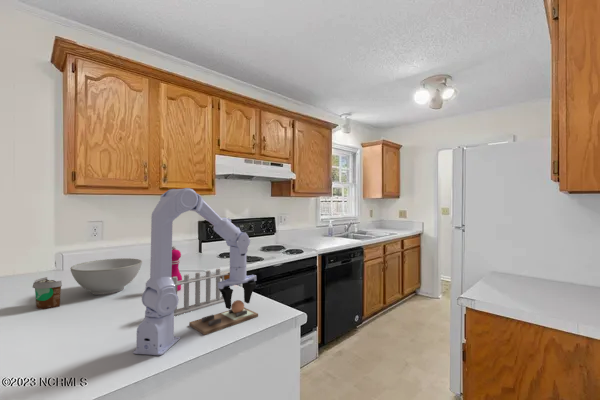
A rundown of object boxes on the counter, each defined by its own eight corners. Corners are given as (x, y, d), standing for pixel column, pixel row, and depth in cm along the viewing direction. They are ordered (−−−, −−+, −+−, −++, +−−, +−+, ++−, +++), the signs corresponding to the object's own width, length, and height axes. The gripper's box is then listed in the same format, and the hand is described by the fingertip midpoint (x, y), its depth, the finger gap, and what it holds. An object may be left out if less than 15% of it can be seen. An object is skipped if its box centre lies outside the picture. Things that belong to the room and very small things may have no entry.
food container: (25, 306, 109) (26, 280, 109) (46, 302, 114) (46, 276, 114) (41, 312, 103) (41, 284, 103) (61, 307, 109) (62, 280, 109)
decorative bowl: (119, 280, 148) (119, 256, 148) (154, 286, 136) (154, 261, 136) (56, 294, 124) (57, 266, 124) (93, 304, 112) (93, 273, 112)
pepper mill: (164, 288, 132) (165, 245, 133) (181, 287, 135) (182, 244, 136) (164, 293, 126) (165, 247, 126) (182, 291, 129) (182, 246, 129)
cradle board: (204, 335, 85) (204, 327, 85) (189, 325, 92) (189, 318, 92) (258, 316, 100) (258, 310, 100) (241, 309, 107) (241, 303, 107)
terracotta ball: (242, 315, 97) (242, 302, 97) (229, 315, 98) (229, 302, 98) (245, 311, 102) (245, 298, 102) (233, 310, 102) (233, 298, 102)
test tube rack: (166, 319, 98) (167, 280, 98) (161, 315, 101) (161, 277, 101) (228, 300, 117) (229, 268, 117) (222, 298, 119) (222, 266, 120)
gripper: (248, 261, 108) (248, 297, 108) (213, 267, 98) (212, 307, 97) (260, 264, 103) (259, 302, 103) (224, 270, 93) (224, 313, 92)
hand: (237, 305), depth 100 cm, fingers open, 7 cm apart
